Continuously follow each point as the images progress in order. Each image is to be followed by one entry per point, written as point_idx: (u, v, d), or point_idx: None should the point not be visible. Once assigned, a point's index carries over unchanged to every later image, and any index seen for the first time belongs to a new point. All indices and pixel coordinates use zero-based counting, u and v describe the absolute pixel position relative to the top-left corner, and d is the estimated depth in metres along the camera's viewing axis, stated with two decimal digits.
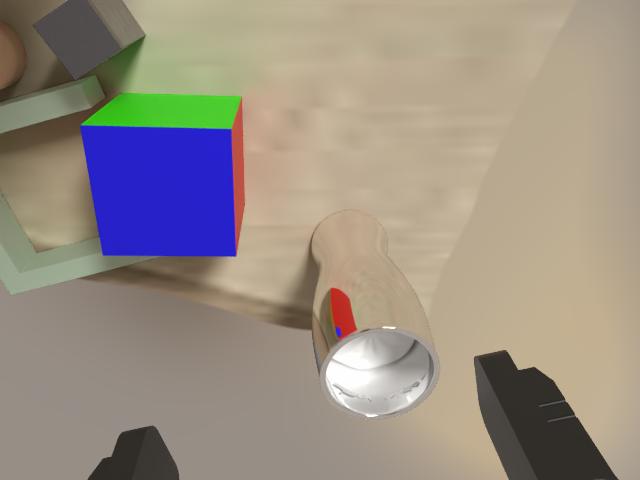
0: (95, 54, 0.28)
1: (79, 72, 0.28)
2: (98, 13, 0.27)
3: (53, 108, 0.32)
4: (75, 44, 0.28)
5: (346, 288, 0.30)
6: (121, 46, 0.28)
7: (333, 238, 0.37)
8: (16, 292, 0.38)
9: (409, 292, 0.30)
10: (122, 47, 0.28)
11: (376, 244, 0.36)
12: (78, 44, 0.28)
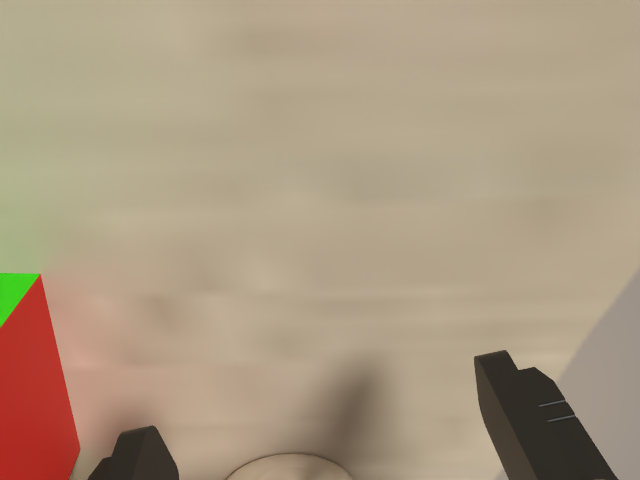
0: None
1: None
2: None
3: None
4: None
5: None
6: None
7: None
8: None
9: None
10: None
11: None
12: None
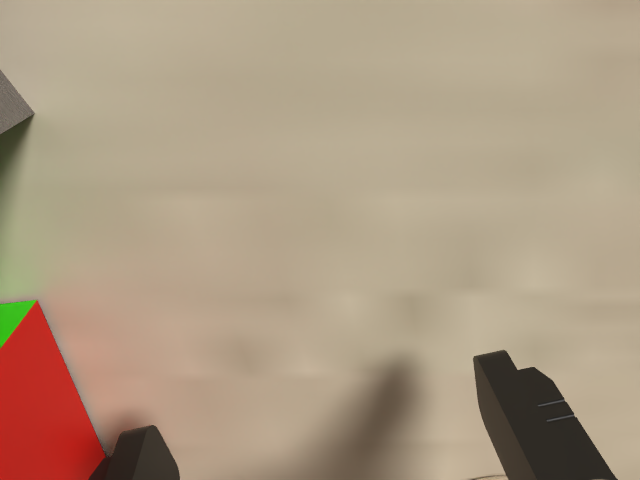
0: None
1: None
2: None
3: None
4: None
5: None
6: None
7: None
8: None
9: None
10: None
11: None
12: None
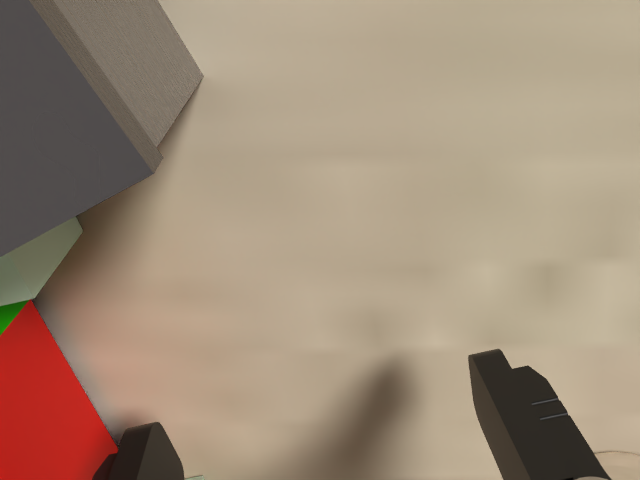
0: (30, 193, 0.06)
1: None
2: (48, 11, 0.06)
3: None
4: None
5: None
6: (151, 158, 0.06)
7: None
8: None
9: None
10: (154, 161, 0.06)
11: None
12: None
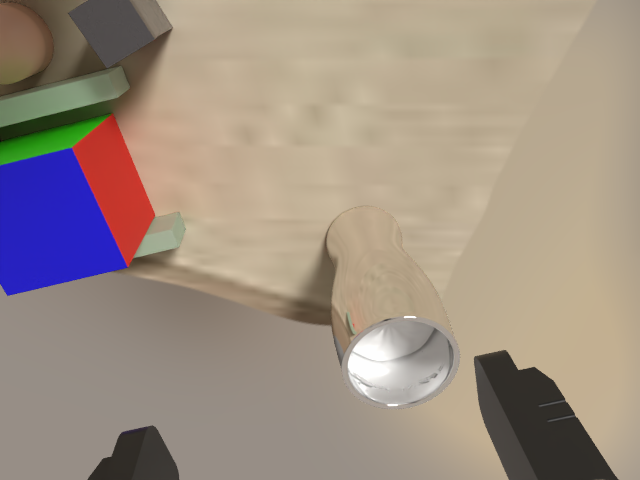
0: (127, 44, 0.28)
1: (111, 61, 0.29)
2: (133, 3, 0.28)
3: (80, 96, 0.33)
4: (109, 33, 0.28)
5: (367, 279, 0.30)
6: (154, 36, 0.29)
7: (350, 233, 0.38)
8: None
9: (428, 284, 0.31)
10: (154, 37, 0.29)
11: (393, 239, 0.37)
12: (112, 33, 0.28)
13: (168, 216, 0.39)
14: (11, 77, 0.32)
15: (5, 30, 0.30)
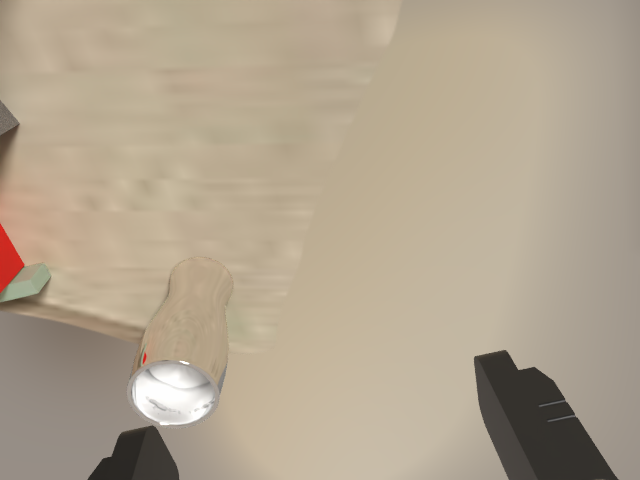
0: None
1: None
2: None
3: None
4: None
5: (158, 327, 0.39)
6: None
7: (178, 281, 0.47)
8: None
9: (208, 331, 0.40)
10: None
11: (208, 288, 0.46)
12: None
13: (34, 266, 0.48)
14: None
15: None
